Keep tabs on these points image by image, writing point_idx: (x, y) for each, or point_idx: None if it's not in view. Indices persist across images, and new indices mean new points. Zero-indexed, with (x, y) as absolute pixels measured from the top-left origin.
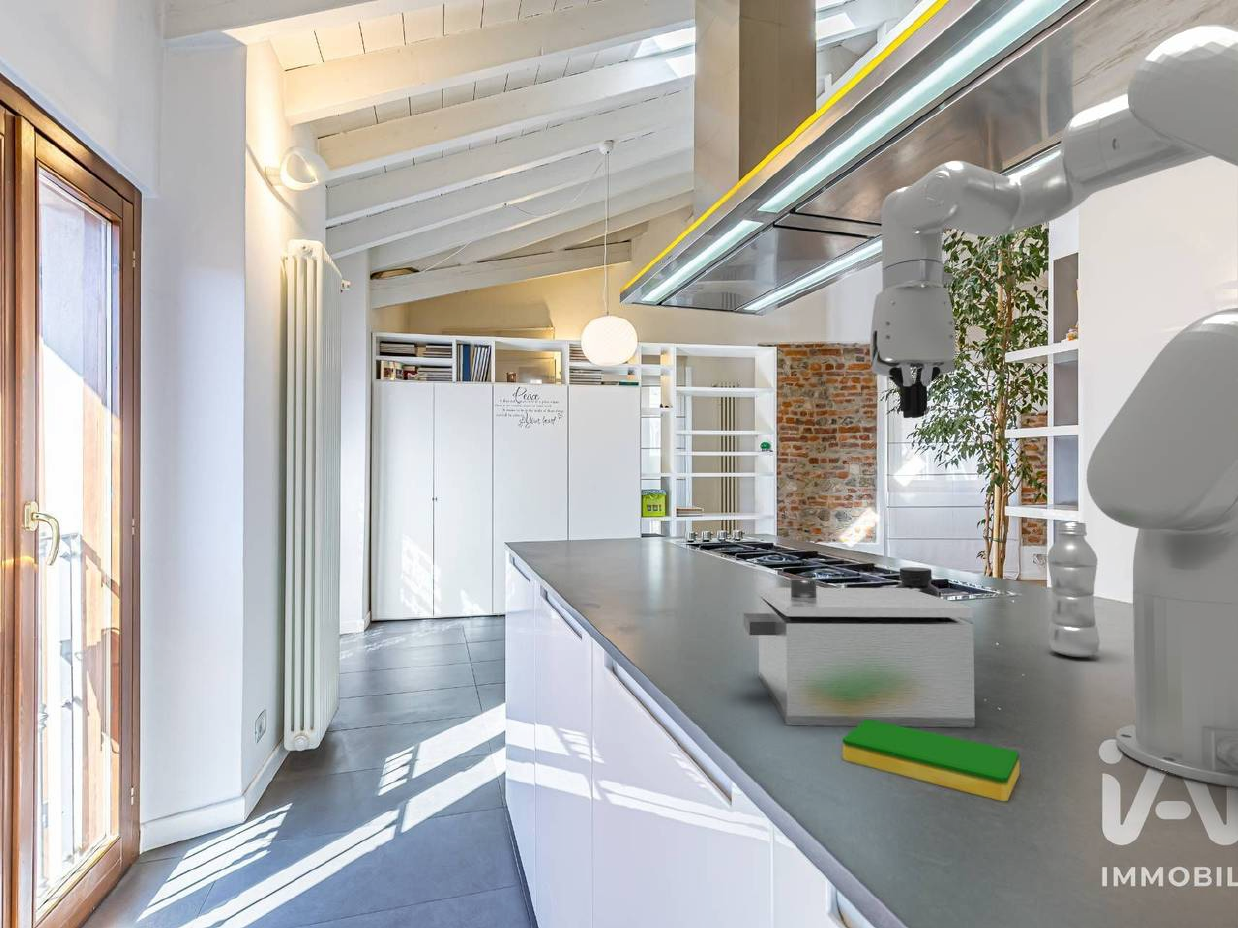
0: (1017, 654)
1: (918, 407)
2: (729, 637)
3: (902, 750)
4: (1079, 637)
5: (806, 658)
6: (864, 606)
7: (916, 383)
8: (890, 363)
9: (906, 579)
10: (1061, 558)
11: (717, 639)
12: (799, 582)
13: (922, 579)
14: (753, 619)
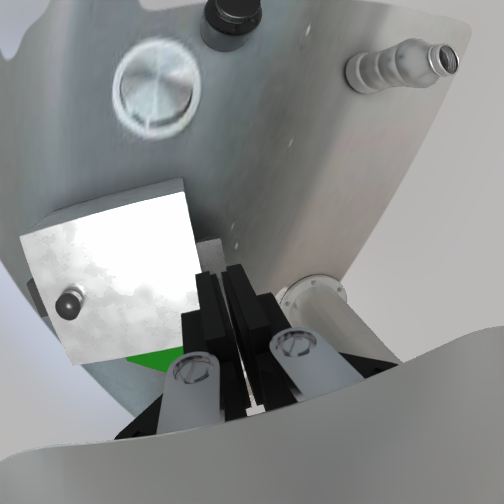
0: (312, 70)
1: (240, 354)
2: (20, 70)
3: (156, 367)
4: (367, 91)
5: None
6: (129, 351)
7: (266, 399)
8: (124, 465)
9: (219, 17)
10: (405, 75)
11: (10, 84)
12: (65, 319)
13: (240, 23)
14: (41, 308)
